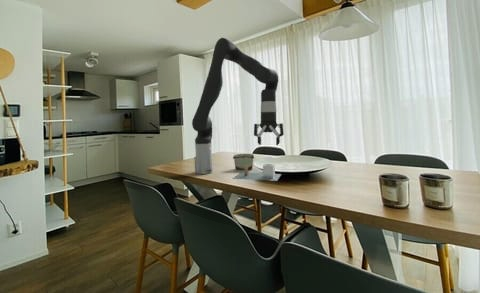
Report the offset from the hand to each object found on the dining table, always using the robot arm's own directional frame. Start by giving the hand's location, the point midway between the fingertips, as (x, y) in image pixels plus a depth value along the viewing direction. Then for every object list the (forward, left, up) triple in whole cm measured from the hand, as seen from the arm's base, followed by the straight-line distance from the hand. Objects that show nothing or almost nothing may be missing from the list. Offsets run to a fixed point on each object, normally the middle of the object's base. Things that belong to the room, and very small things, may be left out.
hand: (268, 144), depth 116 cm
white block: (0, 0, -16) cm, 16 cm away
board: (-6, 0, -18) cm, 18 cm away
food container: (-18, +17, -18) cm, 31 cm away
